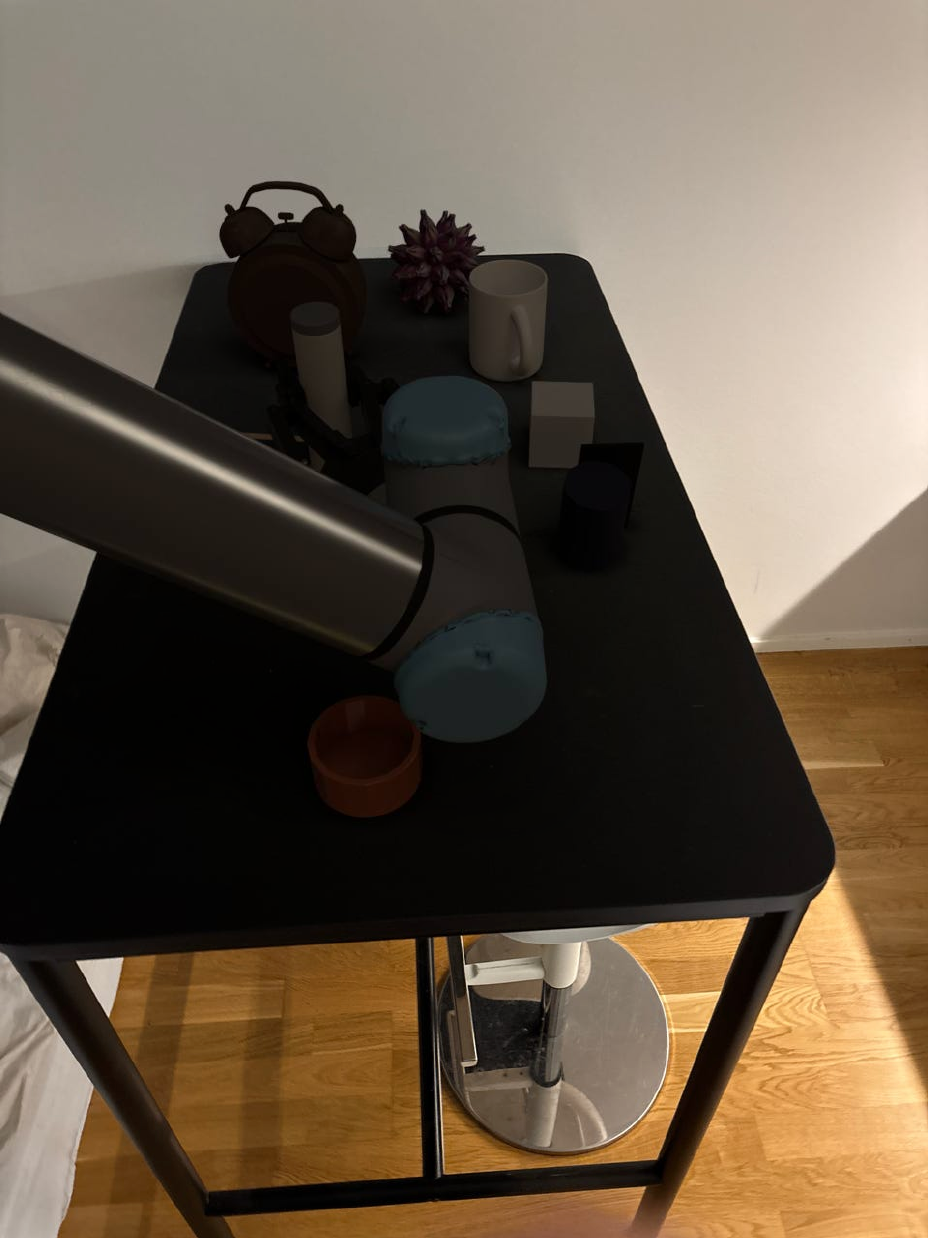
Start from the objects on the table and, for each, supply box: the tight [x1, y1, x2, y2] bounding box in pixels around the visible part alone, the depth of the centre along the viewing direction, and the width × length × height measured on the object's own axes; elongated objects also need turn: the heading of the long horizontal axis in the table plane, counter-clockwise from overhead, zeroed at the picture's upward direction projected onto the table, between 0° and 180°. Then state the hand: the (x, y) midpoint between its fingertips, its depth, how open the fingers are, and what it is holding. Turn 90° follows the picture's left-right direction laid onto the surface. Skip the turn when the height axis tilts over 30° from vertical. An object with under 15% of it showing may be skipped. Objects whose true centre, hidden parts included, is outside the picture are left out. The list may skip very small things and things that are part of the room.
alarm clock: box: [218, 180, 368, 369], centre depth 104 cm, size 15×7×20 cm, turn 84°
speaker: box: [556, 441, 645, 572], centre depth 85 cm, size 8×6×10 cm
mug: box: [468, 259, 549, 383], centre depth 105 cm, size 12×8×10 cm
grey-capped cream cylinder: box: [290, 302, 353, 472], centre depth 86 cm, size 4×4×18 cm
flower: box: [387, 209, 486, 314], centre depth 116 cm, size 12×12×12 cm
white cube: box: [528, 380, 596, 469], centre depth 97 cm, size 6×6×6 cm
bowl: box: [306, 694, 424, 819], centre depth 70 cm, size 8×8×4 cm
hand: (306, 363), depth 89 cm, fingers closed on grey-capped cream cylinder, 4 cm apart
